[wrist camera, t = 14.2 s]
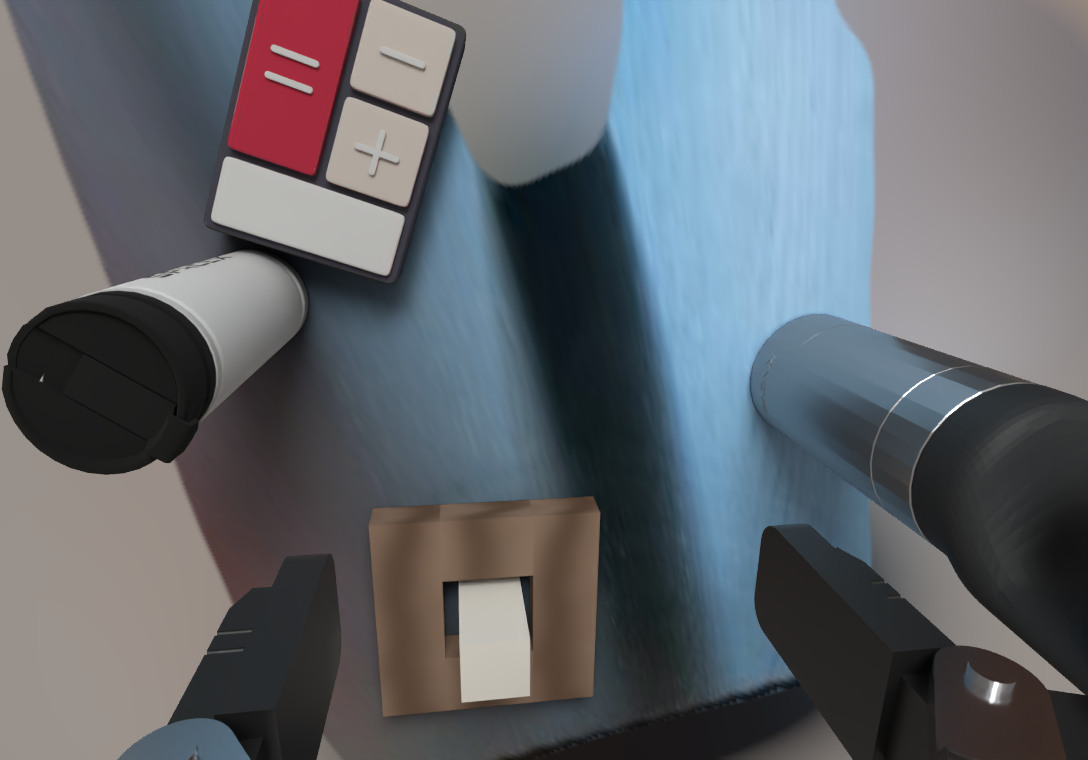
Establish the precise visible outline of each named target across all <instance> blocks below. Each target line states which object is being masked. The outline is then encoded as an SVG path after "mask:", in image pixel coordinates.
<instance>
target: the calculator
mask: <svg viewBox="0 0 1088 760" xmlns="http://www.w3.org/2000/svg"><path fill="white" fill-rule="evenodd" d="M465 41H466V32H465V29H464V28H463V27H462V26H460V25H458V24H456V23H453V22H450V21H448V20H446V19H443V18H441V17H439V16H436V15H434V14H431V13H429V12H426V11H424V10H421V9H419V8H417V7H414V6H412V5H409V4H407V3H404V2H402V1H400V0H253V2H252V7H251V11H250V16H249V20H248V25H247V29H246V33H245V38H244V42H243V47H242V51H241V56H240V60H239V65H238V69H237V73H236V78H235V82H234V87H233V91H232V96H231V100H230V104H229V109H228V113H227V118H226V122H225V127H224V131H223V136H222V140H221V144H220V149H219V153H218V158H217V162H216V167H215V171H214V176H213V180H212V184H211V189H210V193H209V198H208V202H207V207H206V211H205V216H204V223H205V225H206V226H207V227H208V228H210V229H212V230H215V231H218V232H222V233H225V234H228V235H231V236H234V237H238V238H241V239H244V240H247V241H250V242H254V243H257V244H260V245H263V246H266V247H270V248H273V249H276V250H279V251H282V252H286V253H289V254H292V255H295V256H298V257H302V258H305V259H308V260H311V261H314V262H318V263H321V264H324V265H327V266H330V267H334V268H337V269H340V270H343V271H346V272H350V273H353V274H356V275H359V276H362V277H366V278H369V279H372V280H375V281H378V282H382V283H385V284H393V283H394V282H395V281H396V280H397V279H398V278H399V276H400V274H401V271H402V267H403V264H404V261H405V257H406V253H407V250H408V246H409V243H410V239H411V236H412V232H413V229H414V225H415V222H416V218H417V214H418V210H419V207H420V203H421V200H422V196H423V193H424V189H425V186H426V182H427V179H428V175H429V172H430V168H431V165H432V161H433V158H434V154H435V151H436V147H437V144H438V140H439V137H440V133H441V130H442V126H443V123H444V120H445V116H446V113H447V109H448V106H449V102H450V98H451V95H452V92H453V88H454V84H455V81H456V78H457V74H458V70H459V67H460V64H461V60H462V57H463V53H464V49H465Z"/></svg>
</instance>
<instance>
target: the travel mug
mask: <svg viewBox="0 0 1088 760" xmlns="http://www.w3.org/2000/svg"><path fill="white" fill-rule="evenodd" d="M307 312H308V295H307V290H306V288H305V285H304V282H303V280H302V279H301V277H300V276H299V274H298V272H297V271H296V270H295V269H294V268H293V267H292V266H291V265H290V264H289V263H287V262H286V261H285V260H283V259H282V258H280V257H278V256H276V255H274V254H272V253H269V252H266V251H263V250H254V249H248V250H240V251H236V252H233V253H229V254H226V255H222V256H219V257H215V258H212V259H208V260H205V261H201V262H198V263H194V264H191V265H187V266H184V267H180V268H177V269H173V270H170V271H166V272H163V273H159V274H156V275H152V276H149V277H145V278H142V279H138V280H135V281H131V282H128V283H124V284H121V285H117V286H114V287H110V288H107V289H103V290H100V291H97V292H93V293H89V294H86V295H83V296H81V297H80V298H78V299H75V300H71V301H67V302H64V303H61V304H58V305H54V306H51V307H47V308H45V309H44V310H43V311H42V312H40V313H39V314H38V315H37V316H35V317H34V318H33V319H31V320H30V321H29V322H28V323H27V324H25V325H23V326H22V327H21V329H20V330H19V332H18V333H17V335H16V336H15V337H14V339H13V341H12V343H11V346H10V349H9V351H8V354H7V358H8V365H6V366H4V371H3V382H2V391H3V395H4V398H5V402H6V406H7V408H8V410H9V412H10V414H11V416H12V418H13V420H14V422H15V424H16V425H17V426H18V428H19V429H20V430H21V432H22V433H23V434H24V436H25V437H26V438H27V439H28V440H29V441H30V442H31V443H32V444H33V445H34V446H35V447H36V448H37V449H38V450H40V451H41V452H43V453H44V454H46V455H47V456H49V457H50V458H52V459H53V460H55V461H57V462H59V463H61V464H63V465H66V466H67V467H70V468H72V469H76V470H80V471H83V472H87V473H96V474H105V475H108V474H120V473H126V472H130V471H133V470H137V469H140V468H142V467H144V466H146V465H148V464H150V463H152V462H153V461H155V460H156V459H158V460H160V461H162V462H164V463H170V462H172V461H173V460H174V459H175V458H176V457H177V456H179V455H180V454H181V453H183V452H184V450H185V449H186V448H187V446H188V445H189V443H190V442H191V440H192V438H193V437H194V435H195V433H196V431H197V429H198V424H199V423H200V422H201V421H202V420H203V419H204V418H205V417H207V416H208V415H209V414H210V413H211V412H212V411H213V410H214V409H215V408H216V407H218V406H219V405H220V404H221V403H222V402H223V401H224V400H225V399H226V398H227V397H228V396H229V395H231V394H232V393H233V392H234V391H235V390H236V389H237V388H238V387H239V386H240V385H241V384H243V383H244V382H245V381H246V380H247V379H248V378H249V377H250V376H251V375H252V374H253V373H254V372H256V371H257V370H258V369H259V368H260V367H261V366H262V365H263V364H264V363H265V362H266V361H267V360H269V359H270V358H271V357H272V356H273V355H274V354H275V353H276V352H277V351H278V350H279V349H280V348H282V347H283V346H284V345H285V344H286V343H287V342H288V341H289V340H290V339H291V338H292V337H294V336H295V335H296V334H297V332H298V331H299V330H300V329H301V327H302V326H303V323H304V321H305V319H306V316H307Z"/></svg>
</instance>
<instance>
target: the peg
mask: <svg viewBox="0 0 1088 760" xmlns="http://www.w3.org/2000/svg"><path fill="white" fill-rule="evenodd" d="M459 645H460V673H461V700H462V703H464V702H474V701H484V700H494V699H505V698H515V697H525V696H530V636H529V630H528V624H527V618H526V612H525V606H524V600H523V595H522V589H521V583H520V577H519V576H518V577H504V578H490V579H476V580H461V581H459Z"/></svg>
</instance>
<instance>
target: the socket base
mask: <svg viewBox="0 0 1088 760" xmlns="http://www.w3.org/2000/svg"><path fill="white" fill-rule="evenodd" d="M599 529H600V511H599V509H598V507H597V505H596V502H595V500H594V498H593V496H591V497H573V498H554V499H536V500H518V501H499V502H481V503H463V504H444V505H426V506H407V507H389V508H373V511H372V515H371V519H370V523H369V536H370V550H371V563H372V576H373V589H374V602H375V615H376V628H377V641H378V654H379V667H380V680H381V693H382V706H383V717H386V716H397V715H407V714H417V713H428V712H438V711H448V710H459V709H469V708H479V707H490V706H500V705H510V704H521V703H531V702H541V701H551V700H562V699H572V698H582V697H593V681H594V656H595V631H596V605H597V580H598V555H599ZM518 576H529V629H528V630H529V636H530V696H525V697H515V698H505V699H494V700H484V701H474V702H464V703H462V700H461V673H460V645H459V635H449V636H446V631H445V606H444V582H447V581H461V580H476V579H490V578H504V577H518Z"/></svg>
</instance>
